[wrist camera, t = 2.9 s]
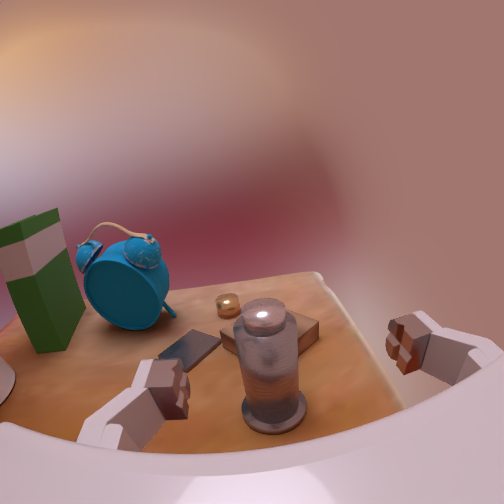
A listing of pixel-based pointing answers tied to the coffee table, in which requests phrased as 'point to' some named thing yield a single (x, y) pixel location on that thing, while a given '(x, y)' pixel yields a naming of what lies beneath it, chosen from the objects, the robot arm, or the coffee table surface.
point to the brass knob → (228, 306)
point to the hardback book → (41, 280)
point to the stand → (305, 333)
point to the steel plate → (191, 348)
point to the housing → (269, 367)
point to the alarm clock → (125, 279)
